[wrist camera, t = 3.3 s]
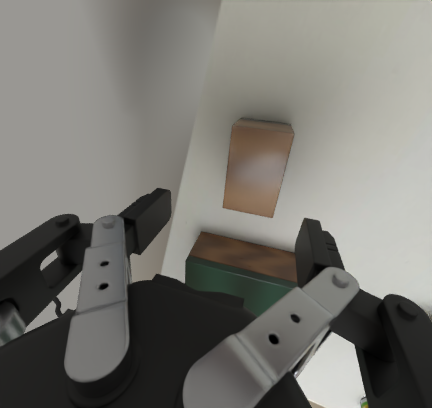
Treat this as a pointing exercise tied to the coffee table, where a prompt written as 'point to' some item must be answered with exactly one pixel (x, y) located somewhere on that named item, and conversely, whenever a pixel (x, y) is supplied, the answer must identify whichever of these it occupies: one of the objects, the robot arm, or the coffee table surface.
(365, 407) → the supplement bottle
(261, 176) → the eraser
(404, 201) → the coffee table surface
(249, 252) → the chalkboard
